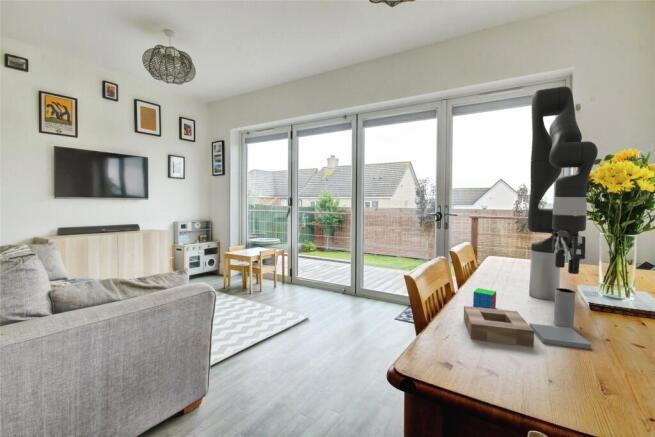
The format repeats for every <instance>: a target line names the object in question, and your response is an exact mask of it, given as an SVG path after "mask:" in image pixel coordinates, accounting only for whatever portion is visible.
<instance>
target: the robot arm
mask: <svg viewBox="0 0 655 437" xmlns="http://www.w3.org/2000/svg"><path fill="white" fill-rule="evenodd" d="M575 108H576V107H575V100H574V94H573V91H572V89H571V88H570V87H569V86H558V87H549V88H543V89H538V90H536V91H535V92H533V94H532V98H531V127H532V128H531V131H532V134H531V136H532V137H531V154H530V193H529V204H528V211H527V212H528V214H527V228H528V231H529V232H531V233H539V234H540V233H541V234H551V235H550V236H549V237H548V238H545V239H543V240H539V241H534V242H532V243H531V244H530V263H529V264H530V266H529V267H530V269H529V285H528V286H529V289H528V295H529V296H531V297H533V298H537V299H542V300H547V301H555V289H556V288H561V287H560V284H561V283H560V281H561V269H563V268H565V267H566V254H567V257H568V265H567V266H568V267H567V273H568V274H570V275H579V273H580V261H582V260H584V259H586V239H587V238H586V236H585V235H584V236H581V235H579V232H585V231H586V229H587V214H588V212H587V211H588V202H587V193H588V192H587V191H588V190H587V189H588V181H589V178H590V175H591V171H592V169H593V168H594V164H595V163H596V159H597V158H598V152H599V150H598V147H597V145H596V143H594V142H592V141H587V140H586V141H582V139H583V135H582V132H581V130H580V128H579V125H578V123H577V119H576V110H575ZM552 116H556V117H555V118H554V120H552V122H551V124H550V125H549V129H548V130H549V131H548V130H547V128H546V125H545V121H544V117H545V118H547V117H552ZM565 168H567V169H568V168H569V169H571V168H577V169H576V171H575V172H574V174H571V175H570V174H569V175H565V176H561V174H562V171H563V170H562V169H565ZM554 183H555V184H554ZM553 184H554V187H555V189H554V199H553V205H552V207H551V208H550V207H549V208H543V207H541V208H540V203H541V201H542V199H543V197H544V196H545V194H546V193H547V192H548V191H549V189H550V188H551V187H552V186H553Z"/></svg>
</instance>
